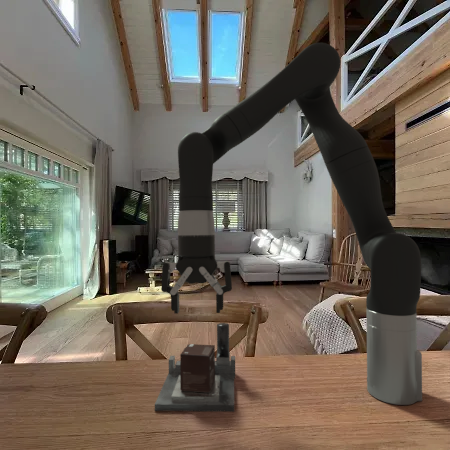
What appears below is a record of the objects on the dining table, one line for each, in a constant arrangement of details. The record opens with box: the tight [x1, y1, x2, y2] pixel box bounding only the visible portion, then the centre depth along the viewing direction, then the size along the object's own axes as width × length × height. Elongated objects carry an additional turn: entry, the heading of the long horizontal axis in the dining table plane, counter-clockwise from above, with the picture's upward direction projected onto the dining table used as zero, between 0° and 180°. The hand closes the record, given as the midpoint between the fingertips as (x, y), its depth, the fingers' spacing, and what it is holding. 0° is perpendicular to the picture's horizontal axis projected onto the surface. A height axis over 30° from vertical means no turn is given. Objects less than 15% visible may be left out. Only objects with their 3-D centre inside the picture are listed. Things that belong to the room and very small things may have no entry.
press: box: [154, 355, 236, 413], centre depth 69 cm, size 15×16×4 cm
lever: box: [215, 322, 231, 365], centre depth 75 cm, size 3×3×9 cm
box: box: [179, 343, 216, 392], centre depth 66 cm, size 6×6×7 cm
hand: (197, 312), depth 66 cm, fingers open, 8 cm apart
